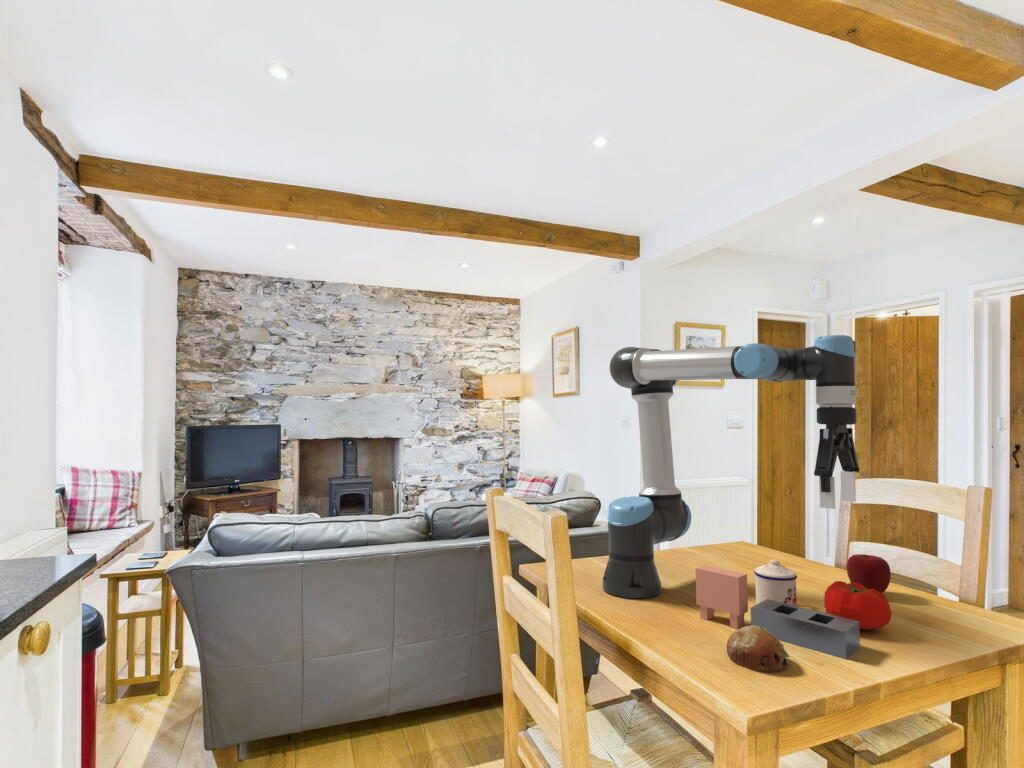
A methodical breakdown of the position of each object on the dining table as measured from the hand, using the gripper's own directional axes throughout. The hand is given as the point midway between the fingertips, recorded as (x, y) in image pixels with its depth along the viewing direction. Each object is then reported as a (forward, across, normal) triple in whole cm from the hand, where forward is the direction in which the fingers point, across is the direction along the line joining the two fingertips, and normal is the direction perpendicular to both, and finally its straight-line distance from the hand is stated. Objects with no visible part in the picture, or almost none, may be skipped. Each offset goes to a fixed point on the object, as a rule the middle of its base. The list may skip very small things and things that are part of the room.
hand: (838, 504), depth 121 cm
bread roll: (+27, -29, +5) cm, 40 cm away
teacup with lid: (+27, +2, +14) cm, 30 cm away
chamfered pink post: (+26, -15, +19) cm, 36 cm away
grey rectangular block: (+26, -12, +3) cm, 29 cm away
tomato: (+26, +3, -2) cm, 27 cm away
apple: (+26, +30, +2) cm, 40 cm away
